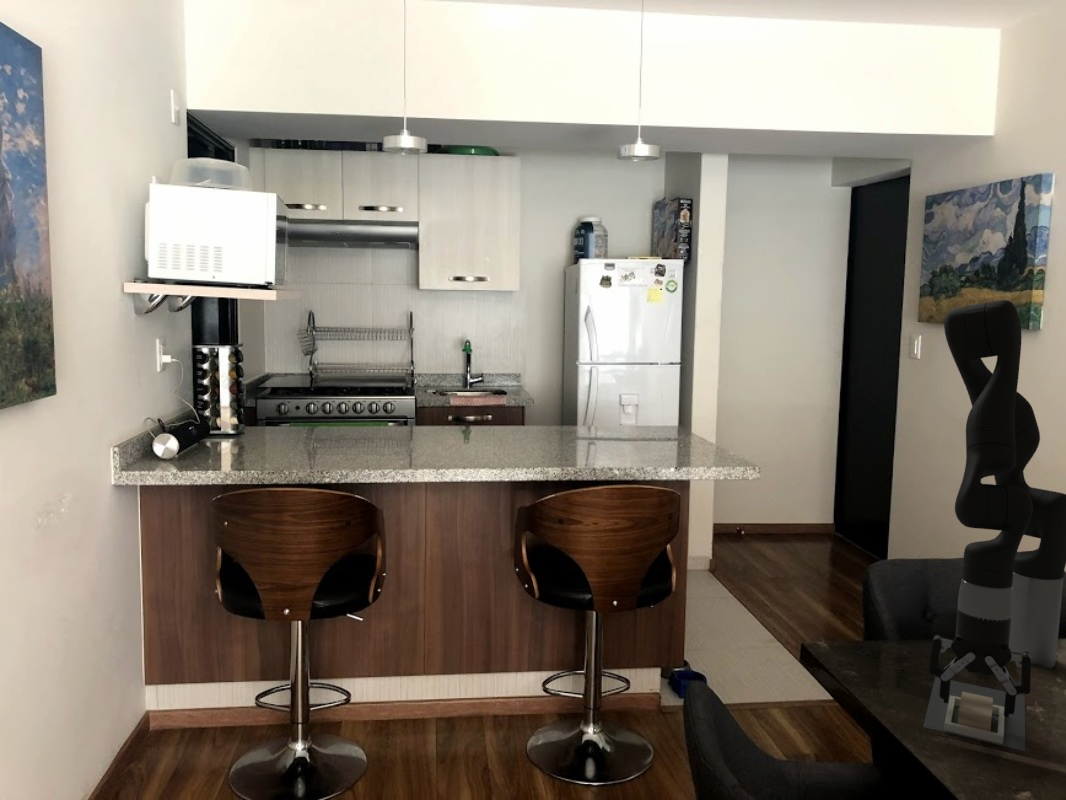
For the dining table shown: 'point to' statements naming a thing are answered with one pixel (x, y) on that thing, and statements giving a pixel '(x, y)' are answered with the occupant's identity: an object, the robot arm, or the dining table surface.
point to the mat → (1012, 724)
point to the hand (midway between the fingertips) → (976, 708)
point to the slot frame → (970, 730)
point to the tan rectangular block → (975, 711)
